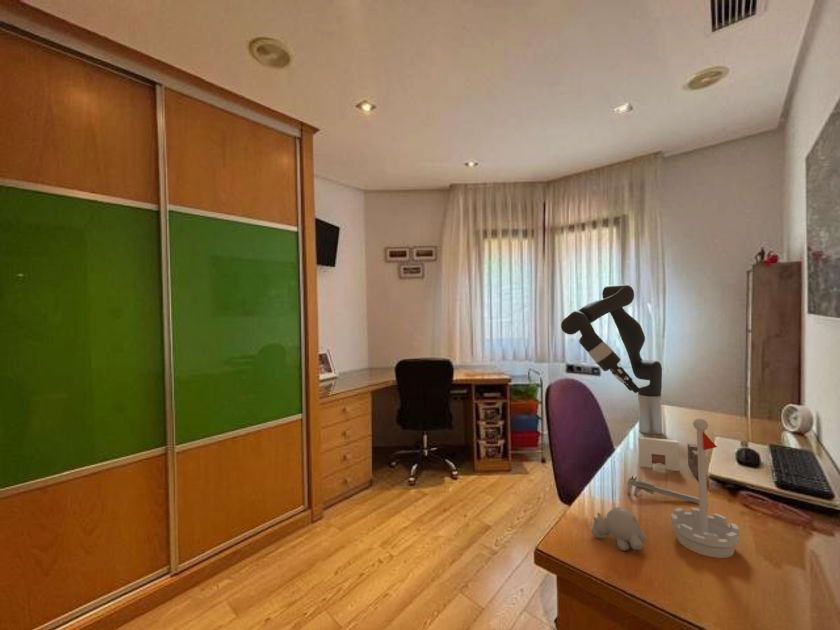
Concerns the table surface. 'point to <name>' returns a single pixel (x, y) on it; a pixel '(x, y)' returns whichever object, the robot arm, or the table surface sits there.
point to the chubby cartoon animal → (620, 528)
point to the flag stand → (704, 513)
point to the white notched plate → (658, 452)
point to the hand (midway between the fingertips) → (635, 390)
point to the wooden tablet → (658, 459)
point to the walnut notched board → (693, 459)
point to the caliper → (656, 490)
